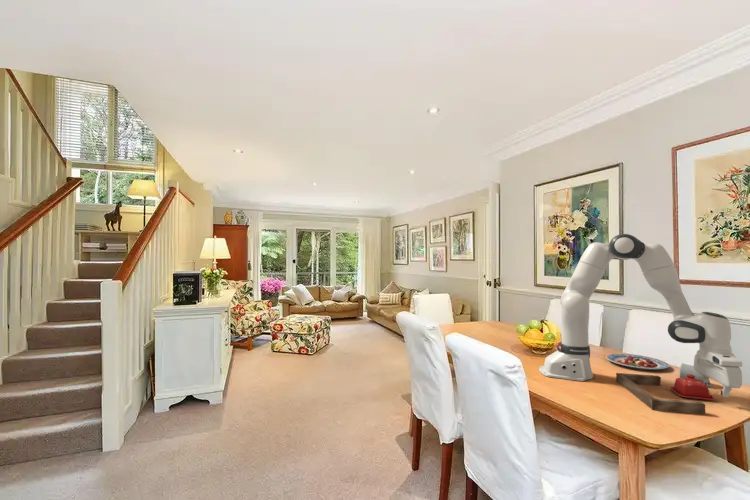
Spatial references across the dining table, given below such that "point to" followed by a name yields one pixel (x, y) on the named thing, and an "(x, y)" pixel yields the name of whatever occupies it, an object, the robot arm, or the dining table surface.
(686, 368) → the ceramic mug
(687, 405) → the dock
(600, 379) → the dining table surface
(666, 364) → the ceramic plate
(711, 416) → the dining table surface
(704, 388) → the butter dish
